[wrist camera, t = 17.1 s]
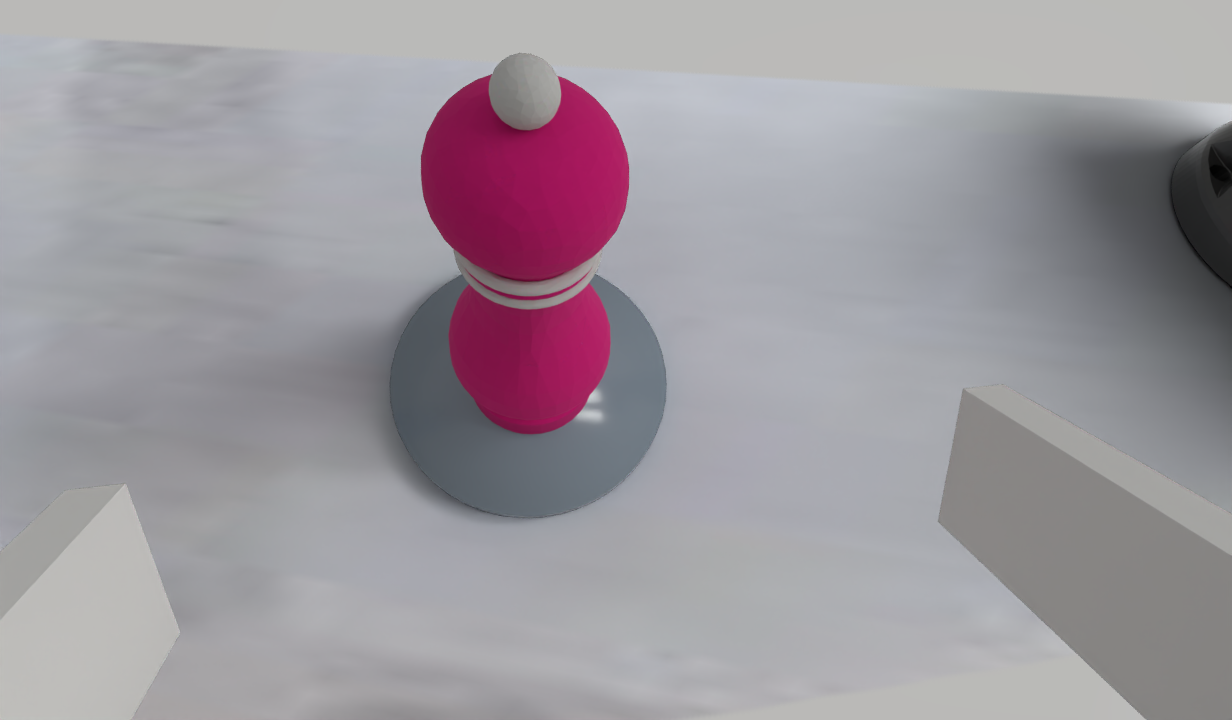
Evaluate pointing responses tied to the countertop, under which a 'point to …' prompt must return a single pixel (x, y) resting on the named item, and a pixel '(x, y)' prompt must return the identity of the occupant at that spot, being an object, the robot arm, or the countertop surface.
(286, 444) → the countertop surface
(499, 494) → the saucer
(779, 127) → the countertop surface
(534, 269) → the pepper mill
